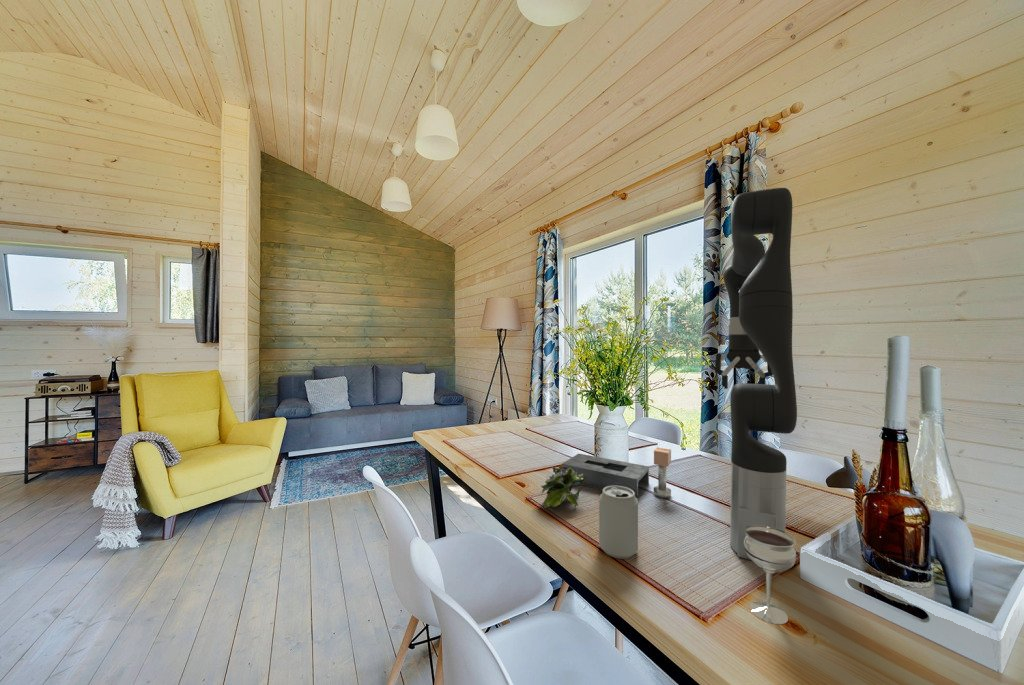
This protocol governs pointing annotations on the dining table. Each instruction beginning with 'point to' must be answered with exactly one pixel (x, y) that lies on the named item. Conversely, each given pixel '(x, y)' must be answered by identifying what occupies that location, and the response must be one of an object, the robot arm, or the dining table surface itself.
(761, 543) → the wineglass
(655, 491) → the peg
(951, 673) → the dining table surface
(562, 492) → the leafy green plant
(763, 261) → the robot arm
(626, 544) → the can
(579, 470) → the keyhole plate
